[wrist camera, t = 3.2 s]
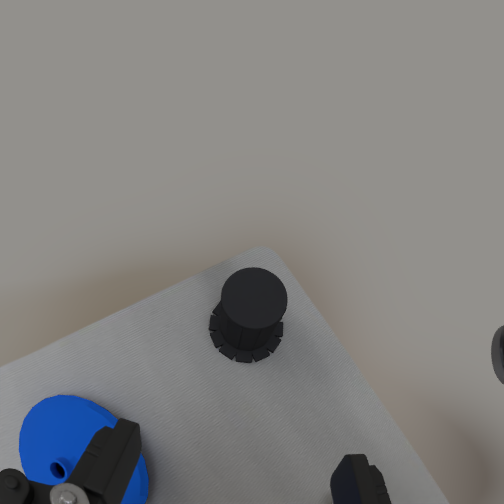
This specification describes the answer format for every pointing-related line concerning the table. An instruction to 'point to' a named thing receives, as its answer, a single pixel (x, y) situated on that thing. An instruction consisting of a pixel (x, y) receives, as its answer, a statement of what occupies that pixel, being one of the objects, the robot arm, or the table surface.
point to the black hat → (249, 315)
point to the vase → (68, 442)
